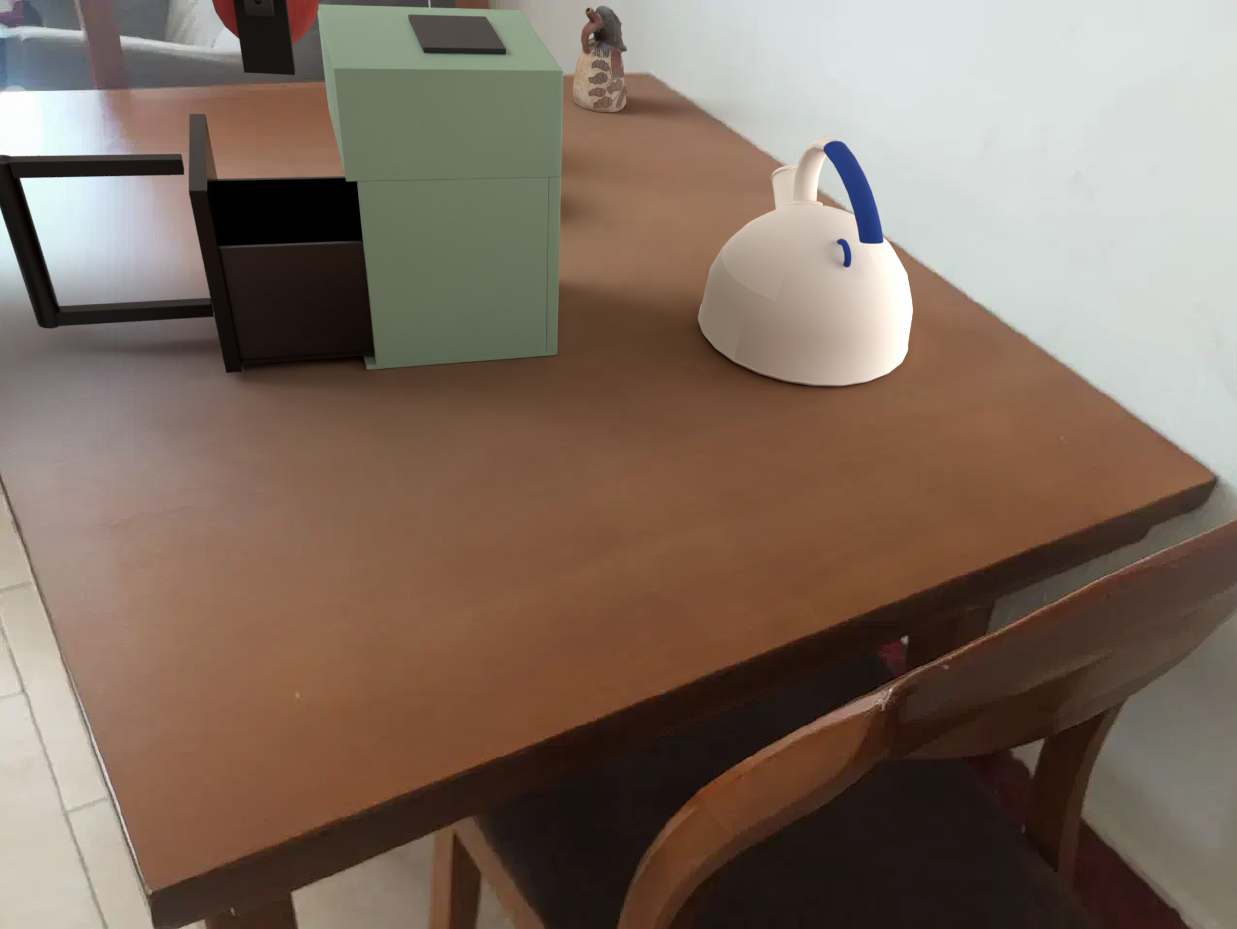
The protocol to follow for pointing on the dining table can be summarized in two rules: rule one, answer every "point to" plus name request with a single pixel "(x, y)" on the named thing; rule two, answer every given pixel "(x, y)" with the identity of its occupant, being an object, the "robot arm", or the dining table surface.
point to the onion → (299, 10)
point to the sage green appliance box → (450, 177)
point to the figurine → (601, 63)
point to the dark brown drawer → (227, 255)
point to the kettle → (811, 283)
